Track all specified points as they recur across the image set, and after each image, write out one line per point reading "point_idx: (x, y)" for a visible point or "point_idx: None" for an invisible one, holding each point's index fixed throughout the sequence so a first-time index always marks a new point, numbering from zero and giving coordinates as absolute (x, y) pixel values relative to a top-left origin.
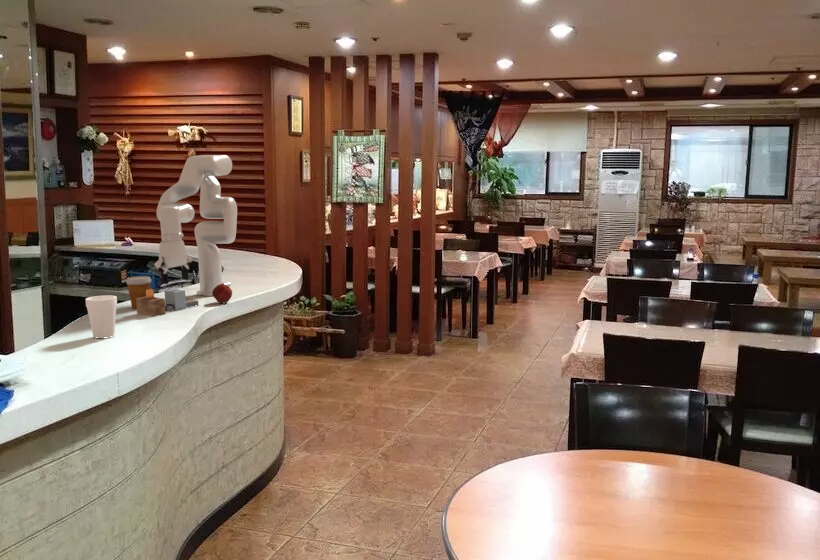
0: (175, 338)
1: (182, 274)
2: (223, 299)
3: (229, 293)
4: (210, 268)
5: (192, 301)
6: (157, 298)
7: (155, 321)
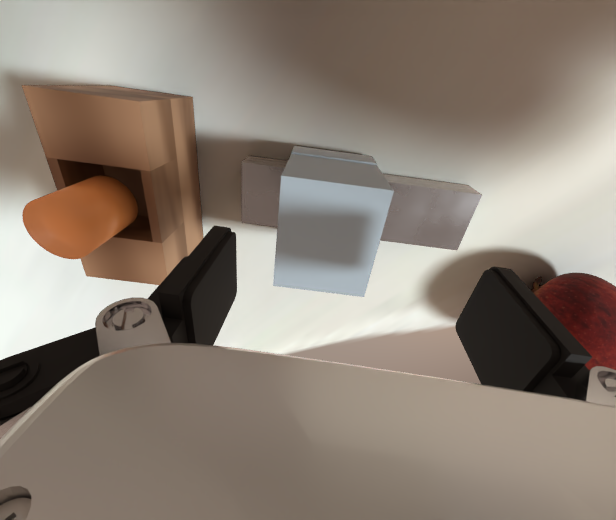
0: None
1: (504, 312)
2: None
3: None
4: None
5: (424, 239)
6: (140, 250)
7: (94, 302)
